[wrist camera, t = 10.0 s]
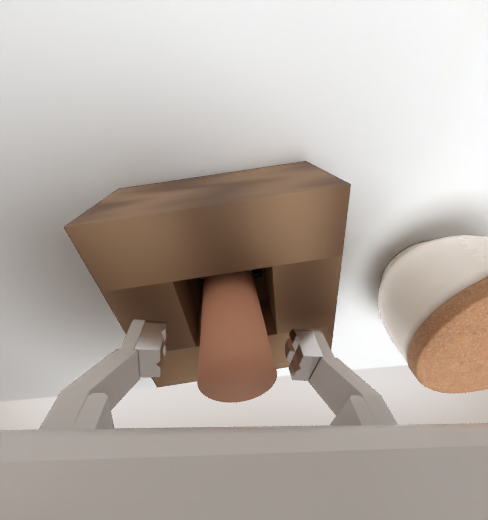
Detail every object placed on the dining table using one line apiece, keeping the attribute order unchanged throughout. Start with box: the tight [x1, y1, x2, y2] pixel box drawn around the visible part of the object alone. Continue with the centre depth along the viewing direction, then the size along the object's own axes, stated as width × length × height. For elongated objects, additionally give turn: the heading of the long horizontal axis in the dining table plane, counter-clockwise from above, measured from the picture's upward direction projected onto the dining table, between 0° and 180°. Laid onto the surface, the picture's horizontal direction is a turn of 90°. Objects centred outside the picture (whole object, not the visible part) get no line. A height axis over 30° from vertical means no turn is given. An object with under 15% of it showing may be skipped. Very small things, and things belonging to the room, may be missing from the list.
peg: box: [197, 270, 277, 402], centre depth 14 cm, size 3×3×10 cm
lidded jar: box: [378, 235, 488, 393], centre depth 16 cm, size 11×11×9 cm
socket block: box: [64, 161, 351, 387], centre depth 15 cm, size 12×12×6 cm
